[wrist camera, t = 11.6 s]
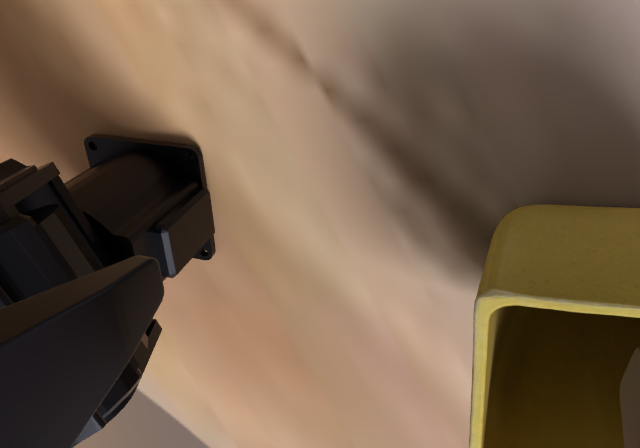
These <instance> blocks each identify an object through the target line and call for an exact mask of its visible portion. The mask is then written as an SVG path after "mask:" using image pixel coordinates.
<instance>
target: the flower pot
mask: <svg viewBox="0 0 640 448" xmlns="http://www.w3.org/2000/svg"><path fill="white" fill-rule="evenodd" d="M639 347H640V208H621V207H593V206H571V205H552V204H539V205H527V206H523V207H519V208H516V209H514V210H512V211H511V212H509V213H508V214H507V215H506V216H504V218H503V219H502V220H501V221H500V223H499V224H498V226H497V228H496V230H495V232H494V234H493V237H492V240H491V244H490V247H489V251H488V255H487V258H486V262H485V266H484V269H483V273H482V277H481V281H480V285H479V289H478V293H477V297H476V300H475V304H474V337H473V368H472V392H471V414H470V436H469V448H624V437H623V427H622V416H621V405H620V384H621V380H622V378H623V375H624V373H625V371H626V368H627V366H628V364H629V361H630V359H631V357H632V355H633V352H634V351H635V350H636V349H637V348H639Z"/></svg>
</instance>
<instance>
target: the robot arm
mask: <svg viewBox="0 0 640 448" xmlns="http://www.w3.org/2000/svg"><path fill="white" fill-rule="evenodd" d="M94 143H95V144H96V145H97V147H96V146H95V144H94ZM84 144H85V149H86V152H87V156H88V160H89V164H90V167H91V168H89V169H87V170H86V171H84V172H82V173H81V174H79V175H77V176H76V177H74V178H72V179H71V180H69V181H68V182H66V183H63V181H62V180H61V178H60V177H59V174H60V172H59V171H58V169H57V168H56V166H55V165H54V163H53V162H51V163H48V164H46V165H43V166H41V167H38V168H36V166H35V165H33V166H25V165H23V164H22V163H20V162H18V161H16V160H14V159H12V158H11V159H9V160H6V161H4V162H2V163H0V448H73V447H74V446H75V445H76V444H78V443H80V442H81V441H83V440H85V439H86V438H88V437H90V436H91V435H93V434H94V433H96V432H98V431H99V430H101V429H102V428H103V427H104V426H105V425H106V424H107V423H108V422H109V421H110V420H112V419H113V418H114V417H115V416H116V415H117V414H118V413H119V412H120V411H121V410H122V409H123V408H124V407H125V405H126V404H127V403H128V401H129V400H130V399H131V397H132V396H133V394H134V392H135V390H136V388H137V386H138V384H139V381H140V379H141V377H142V374H143V372H144V370H145V368H146V365H147V363H148V361H149V358H150V356H151V354H152V352H153V349H154V347H155V345H156V342H157V340H158V338H159V335H160V333H161V331H162V328H161V326H160V325H159V323H158V322H157V320H156V319H153V317H154V315H155V313H156V311H157V309H158V307H159V305H160V304H161V302H162V299H163V296H164V286H163V281H164V280H165V279H166V278H167V277H169V278H173V277H175V276H176V275H177V274H178V273H179V272H180V271H181V270H182V269H183V267H184V266H185V265H186V264H187V263H188V262H189V261H190V260H191V259H192V258H196V259H201V260H209V259H211V258H212V256H213V255H214V254H215V242H214V235H213V234H214V233H215V229H214V221H213V214H212V206H211V199H210V192H209V190H208V189H207V184H206V177H205V170H204V163H203V156H202V152H201V151H200V150H199V148H197V147H196V146H193V145H187V144H178V143H169V142H160V141H152V140H143V139H134V138H125V137H117V136H108V135H99V134H93V135H91V136H89V137H87V138H86V139H85V141H84ZM189 153H190V154H192V155H193V157H194V159H191V158H190V156H189ZM204 249H205V250H207V252H205V251H204ZM620 405H621V416H622V427H623V437H624V448H640V347H639V348H637V349H636V350H635V351H634V352H633V355H632V357H631V359H630V361H629V364H628V366H627V368H626V371H625V373H624V375H623V378H622V380H621V384H620Z"/></svg>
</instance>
